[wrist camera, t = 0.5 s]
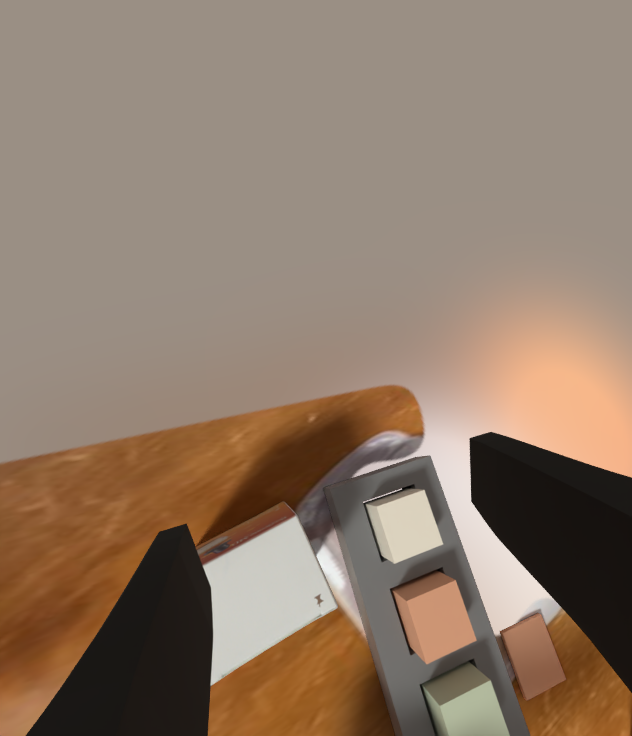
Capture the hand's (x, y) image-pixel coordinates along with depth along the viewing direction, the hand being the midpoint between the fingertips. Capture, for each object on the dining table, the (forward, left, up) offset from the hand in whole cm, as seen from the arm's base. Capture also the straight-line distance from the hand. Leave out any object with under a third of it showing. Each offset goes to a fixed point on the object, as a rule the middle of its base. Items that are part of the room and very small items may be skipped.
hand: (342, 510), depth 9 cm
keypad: (-12, -8, -24) cm, 28 cm away
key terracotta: (-12, -8, -22) cm, 27 cm away
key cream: (-5, -8, -22) cm, 24 cm away
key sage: (-18, -8, -22) cm, 30 cm away
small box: (-5, +3, -24) cm, 25 cm away
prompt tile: (-19, -17, -24) cm, 35 cm away
